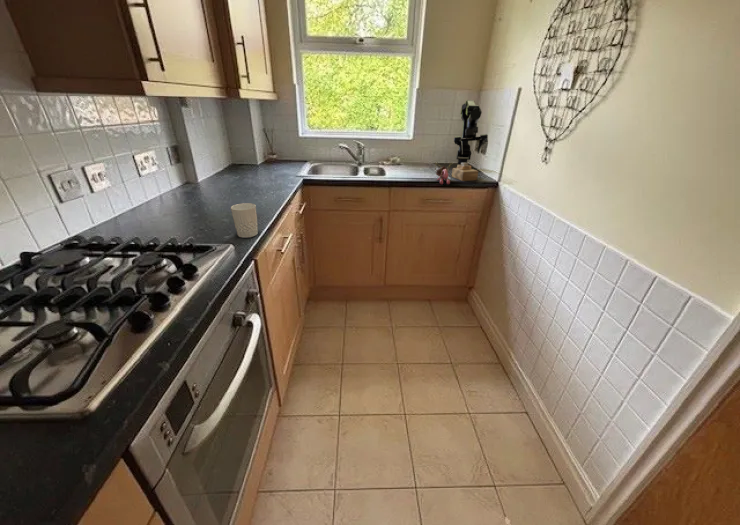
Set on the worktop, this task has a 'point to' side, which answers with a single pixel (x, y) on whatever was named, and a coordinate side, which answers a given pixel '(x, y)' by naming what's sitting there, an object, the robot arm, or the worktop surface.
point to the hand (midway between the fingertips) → (469, 153)
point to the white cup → (245, 219)
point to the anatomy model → (443, 174)
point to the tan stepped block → (464, 173)
